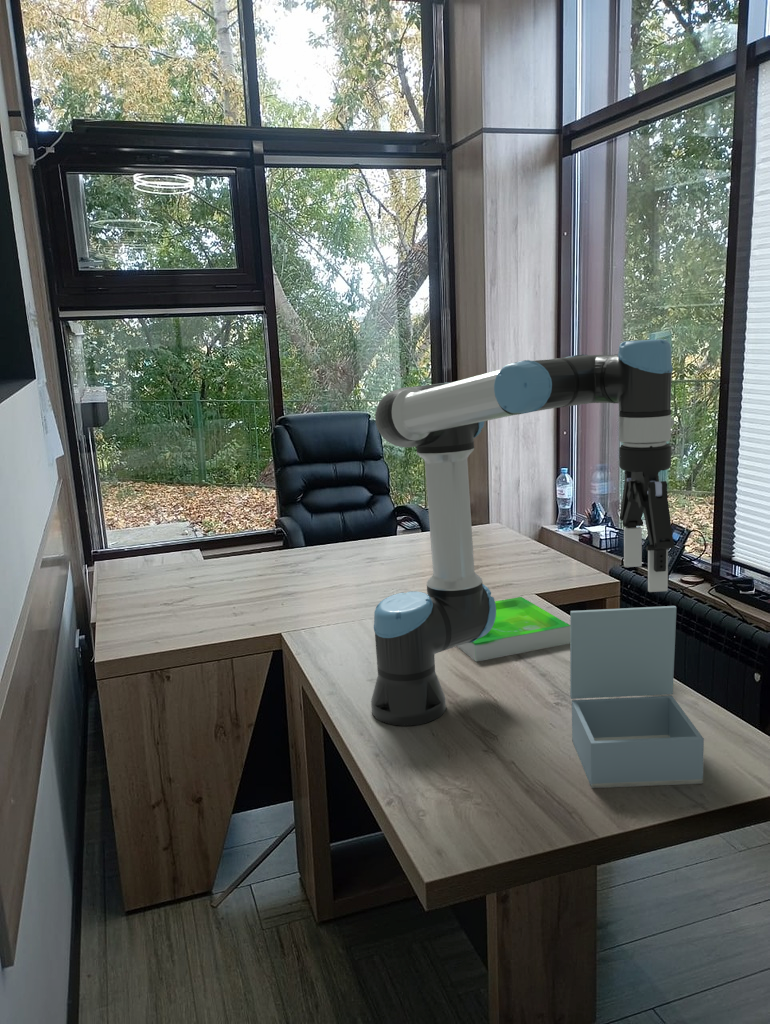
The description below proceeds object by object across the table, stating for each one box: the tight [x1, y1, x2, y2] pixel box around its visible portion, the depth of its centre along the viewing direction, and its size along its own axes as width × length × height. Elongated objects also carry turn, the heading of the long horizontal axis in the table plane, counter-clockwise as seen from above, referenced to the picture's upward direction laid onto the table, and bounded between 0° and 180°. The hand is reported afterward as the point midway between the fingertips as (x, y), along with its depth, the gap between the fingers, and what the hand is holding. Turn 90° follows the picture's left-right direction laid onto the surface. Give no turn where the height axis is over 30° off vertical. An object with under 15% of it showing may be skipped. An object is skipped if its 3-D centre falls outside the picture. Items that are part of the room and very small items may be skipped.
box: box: [571, 695, 705, 789], centre depth 139 cm, size 18×16×8 cm
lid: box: [569, 605, 677, 700], centre depth 144 cm, size 18×17×1 cm
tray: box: [457, 596, 570, 662], centre depth 202 cm, size 25×25×5 cm
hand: (644, 578), depth 127 cm, fingers open, 13 cm apart
